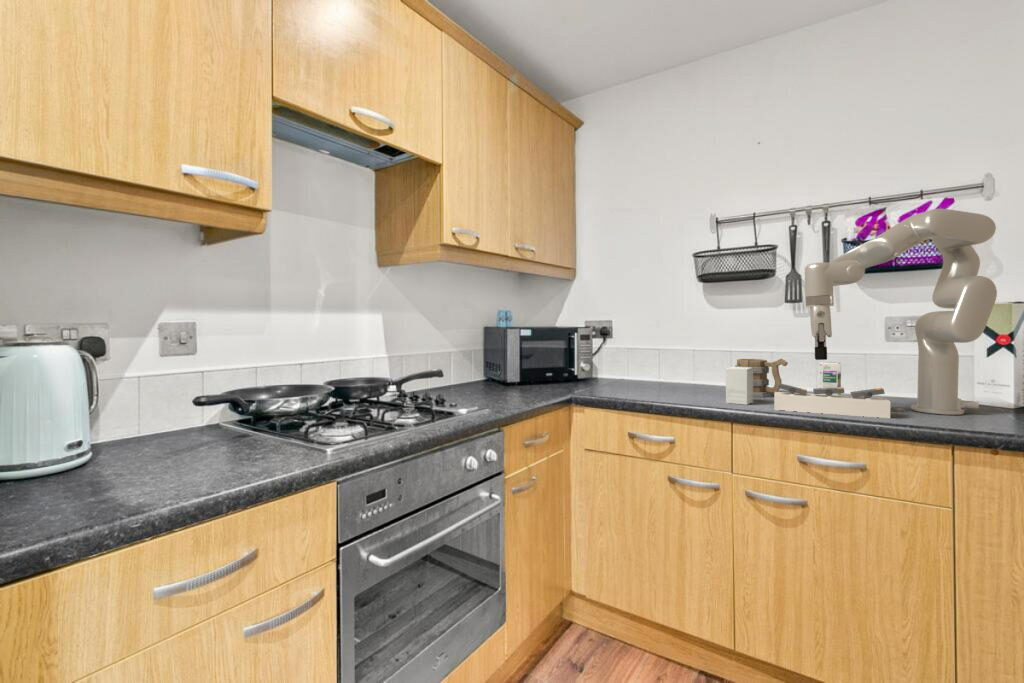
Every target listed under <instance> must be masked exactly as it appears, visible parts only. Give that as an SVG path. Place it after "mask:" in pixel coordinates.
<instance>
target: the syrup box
mask: <svg viewBox="0 0 1024 683" xmlns="http://www.w3.org/2000/svg"><path fill="white" fill-rule="evenodd" d="M841 381H842V364H841V362H836V361H833V362H832V361H820V362H819V388H837V387H842V384H841V383H842V382H841ZM824 395H826V394H824ZM832 395H842V393H838V394H832Z"/></svg>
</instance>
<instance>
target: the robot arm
mask: <svg viewBox="0 0 1024 683" xmlns="http://www.w3.org/2000/svg"><path fill="white" fill-rule="evenodd" d="M996 230H997V225H996V223H995V221H994V220H993V219H992V218H991V217H989V216H988V215H985V214H981V213H978V212H977V213H975V212H968V211H963V210H955V209H948V208H934V209H929V210H927V211H923V212H920V213H919V212H918V213H915V214H913V215H911V216H909V217H906V218H905V219H903V220H902V221H900V222H898V223H897V224H895V225H893V226H891V227H890V228H888V229H887V230H885V231H884V232H882V233H881V234H879V235H877V236H875V237H874V238H872V239H869V240H867V241H866V242H864V243H862V244H860V245H858V246H857V247H855V248H853V249H850V250H848V251H847V252H845V253H843V254H841V255H839V256H838V257H836V258H835V259H833V260H831V261H829V262H826V261H825V262H823V261H822V262H815V263H813V262H812V263H810V264H807V265H806V266H805V268H804V291H805V293H804V294H805V295H804V296H805V299H804V300H805V308H809V311H810V312H809V314H810V330H811V336H812V337H813V338H814V359H815V360H816V361H817V360H819V361H821V360H823V361H825V360H828V347H827V337H828V338H832V337H833V333H832V317H831V316H832V313H831V307H834V305H835V304H834V300H835V299H834V287H838V286H845V285H846V286H847V285H852V284H853V285H854V284H855V283H858V282H859V281H861V280H862V279H863V277H864V275H865V274H866V269H868V268H871V267H874V266H877V265H881V264H884V263H887V262H889V261H892V260H894V259H896V258H897V257H898V256H900V255H903V254H904V253H905V252H907V251H909V250H910V249H912V248H914V247H916V246H917V245H919V244H921V243H922V242H925V241H926V240H931V241H932V243H933V245H934V247H935V248H936V249H937V250H938V251H939V253H940V255H941V256H942V259H943V260H942V262H943V263H942V268H941V270H940V271H941V272H940V273H939V276H938V279H937V281H936V283H935V287H934V290H933V292H932V295H931V296H932V302H933V304H934V305H935V306H936V307H938V308H941V309H951V310H945V311H944V310H943V311H942V310H940V311H931V312H928V313H924V314H922V315H921V316H919V318H918V319H917V321H916V322H915V328H914V330H915V336H916V341H917V348H918V349H917V350H918V357H917V358H918V361H917V402H916V404H912V405H911V406H910V410H913V411H915V412H918V413H919V412H921V413H926V414H934V415H935V414H938V415H949V416H951V415H953V416H956V415H957V416H960V415H964V414H965V408H968V409H969V408H970V409H980V408H979V407H980V404H979V402H977V401H965V400H963V399H961V398H959V394H958V393H959V362H960V356H959V351H958V348H957V346H956V343H961V344H962V343H971V342H974V341H975V340H977V339H979V338H980V337H981V335H983V333H984V330H985V329H986V327H987V324H988V322H989V318H990V316H991V314H992V312H993V309H994V307H995V305H996V304H995V303H996V300H997V297H998V292H997V291H998V290H997V287H996V284H995V283H994V281H993V280H991V279H990V278H988V277H987V276H983V275H978V273H979V270H980V267H981V260H980V259H981V258H980V256H979V254H978V253H977V251H976V250H975V249H974V247H973V246H976V245H980V244H983V243H985V242H988V241H989V240H990V239H992V237H993V236H994V235H995V233H996Z"/></svg>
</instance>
